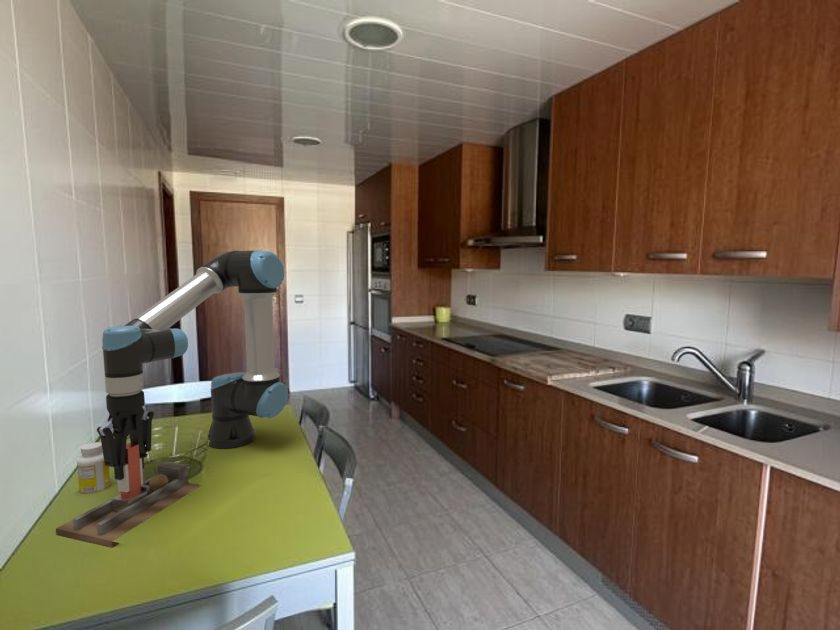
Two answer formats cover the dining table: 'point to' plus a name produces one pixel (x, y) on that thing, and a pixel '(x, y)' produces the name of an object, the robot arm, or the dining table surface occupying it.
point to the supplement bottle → (92, 469)
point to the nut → (158, 482)
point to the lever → (131, 481)
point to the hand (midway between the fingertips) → (130, 487)
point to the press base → (128, 510)
